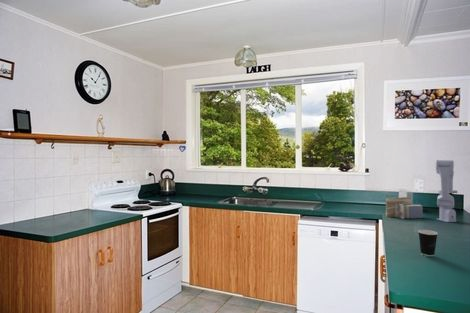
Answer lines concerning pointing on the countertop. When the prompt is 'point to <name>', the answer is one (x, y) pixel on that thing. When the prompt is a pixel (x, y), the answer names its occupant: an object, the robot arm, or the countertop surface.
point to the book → (413, 211)
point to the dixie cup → (427, 241)
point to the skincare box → (406, 194)
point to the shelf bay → (396, 206)
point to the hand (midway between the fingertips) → (447, 203)
